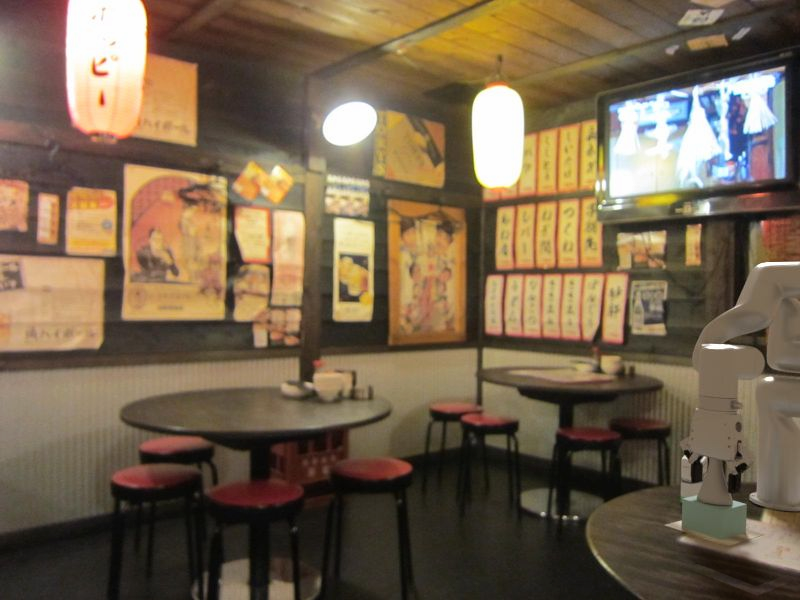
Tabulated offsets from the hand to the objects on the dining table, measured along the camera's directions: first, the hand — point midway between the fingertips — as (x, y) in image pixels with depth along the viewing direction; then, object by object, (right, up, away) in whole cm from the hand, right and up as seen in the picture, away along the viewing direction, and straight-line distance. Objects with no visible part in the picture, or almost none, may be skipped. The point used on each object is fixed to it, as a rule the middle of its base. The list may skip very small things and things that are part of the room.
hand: (714, 486), depth 140 cm
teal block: (0, -9, 0) cm, 9 cm away
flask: (0, -3, 0) cm, 3 cm away
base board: (0, -10, 0) cm, 10 cm away
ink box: (+5, -11, +21) cm, 24 cm away
